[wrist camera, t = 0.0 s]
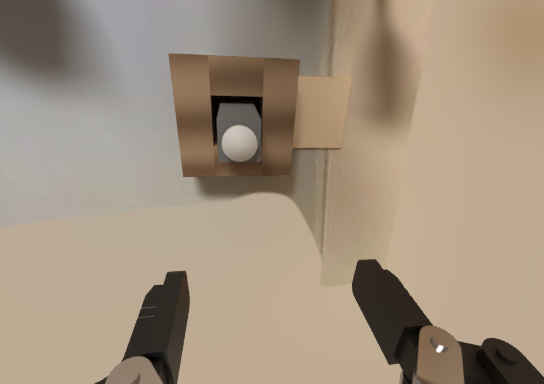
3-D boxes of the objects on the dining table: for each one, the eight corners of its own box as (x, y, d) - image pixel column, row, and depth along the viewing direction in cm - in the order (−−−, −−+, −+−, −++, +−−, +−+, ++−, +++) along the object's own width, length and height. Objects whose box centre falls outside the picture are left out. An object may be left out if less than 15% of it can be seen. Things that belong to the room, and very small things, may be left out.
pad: (295, 75, 36) (296, 75, 36) (351, 77, 37) (352, 78, 37) (290, 147, 40) (290, 148, 40) (340, 147, 42) (341, 147, 41)
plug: (221, 97, 36) (215, 122, 23) (250, 98, 36) (262, 122, 23) (222, 126, 38) (218, 166, 24) (250, 127, 38) (261, 165, 25)
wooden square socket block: (178, 53, 33) (168, 53, 28) (289, 58, 35) (299, 59, 30) (189, 160, 39) (183, 176, 34) (282, 159, 41) (290, 175, 36)
